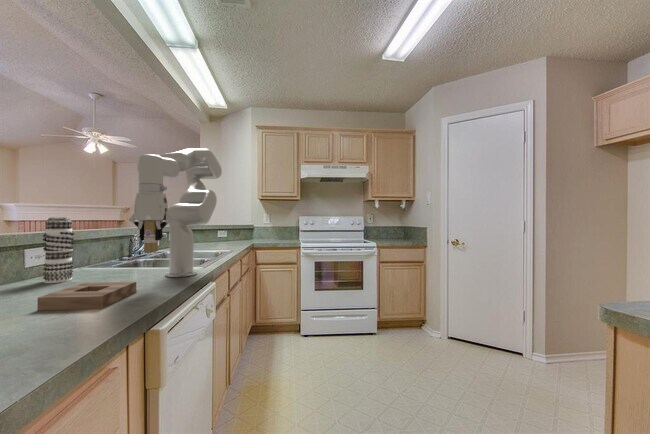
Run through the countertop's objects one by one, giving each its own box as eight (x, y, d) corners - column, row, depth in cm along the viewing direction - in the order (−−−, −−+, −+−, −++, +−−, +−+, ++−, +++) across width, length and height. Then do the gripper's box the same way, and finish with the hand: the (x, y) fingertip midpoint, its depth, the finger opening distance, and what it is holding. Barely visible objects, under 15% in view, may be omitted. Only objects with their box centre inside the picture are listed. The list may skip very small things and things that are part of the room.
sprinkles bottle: (141, 252, 100) (142, 214, 100) (145, 250, 104) (145, 214, 104) (156, 252, 101) (156, 214, 101) (159, 250, 106) (160, 214, 105)
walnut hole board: (85, 292, 95) (85, 282, 95) (136, 291, 97) (136, 281, 97) (37, 310, 77) (37, 297, 77) (101, 308, 79) (101, 296, 79)
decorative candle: (74, 277, 119) (75, 217, 119) (73, 281, 112) (74, 217, 112) (43, 280, 113) (44, 217, 113) (40, 284, 106) (41, 217, 106)
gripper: (179, 190, 107) (179, 239, 107) (131, 189, 105) (132, 239, 105) (171, 189, 100) (171, 241, 100) (119, 188, 98) (119, 241, 98)
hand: (151, 239), depth 103 cm, fingers closed on sprinkles bottle, 4 cm apart
